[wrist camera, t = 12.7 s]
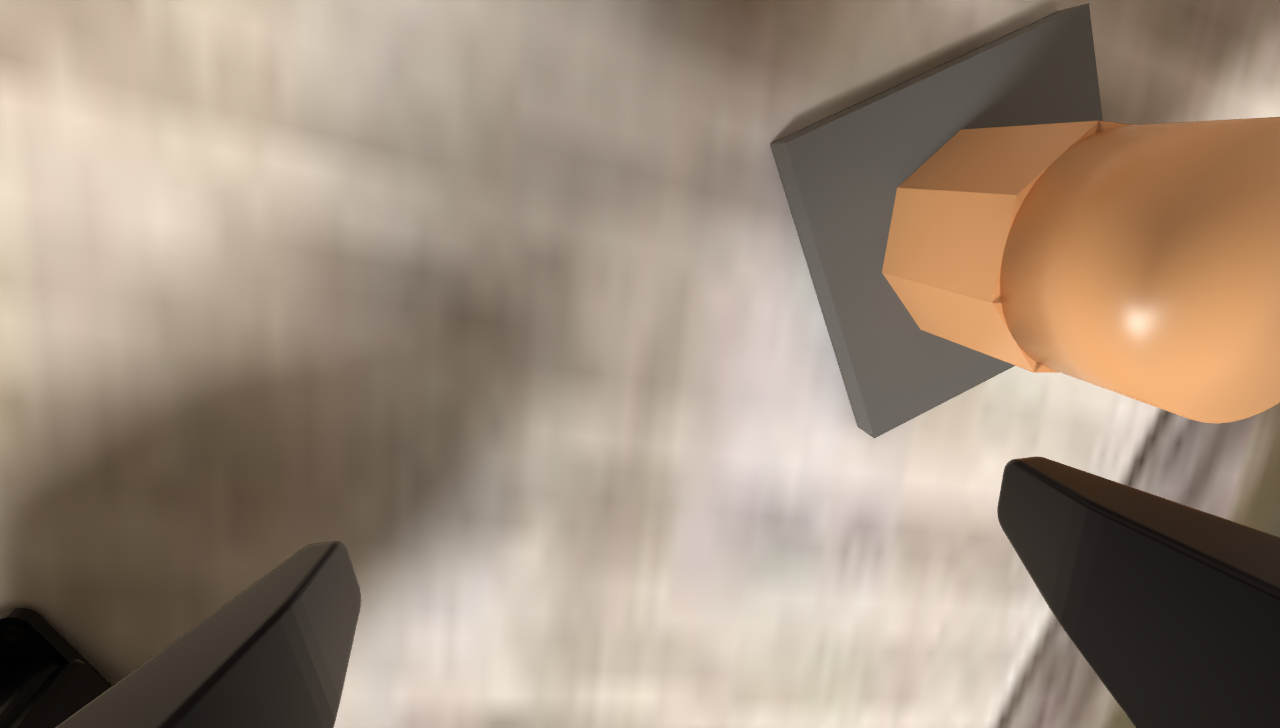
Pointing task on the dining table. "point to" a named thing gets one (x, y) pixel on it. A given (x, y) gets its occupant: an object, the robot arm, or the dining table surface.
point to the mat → (866, 189)
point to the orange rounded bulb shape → (1105, 256)
